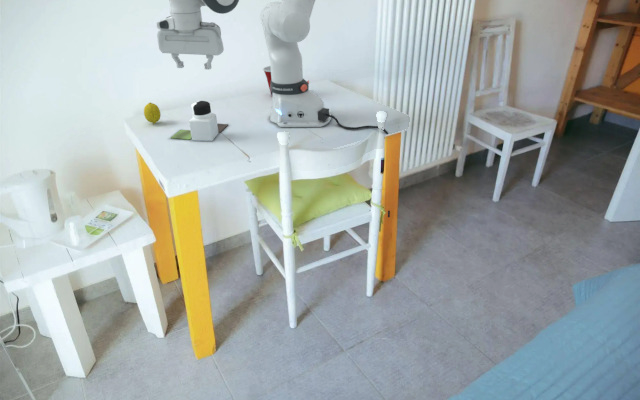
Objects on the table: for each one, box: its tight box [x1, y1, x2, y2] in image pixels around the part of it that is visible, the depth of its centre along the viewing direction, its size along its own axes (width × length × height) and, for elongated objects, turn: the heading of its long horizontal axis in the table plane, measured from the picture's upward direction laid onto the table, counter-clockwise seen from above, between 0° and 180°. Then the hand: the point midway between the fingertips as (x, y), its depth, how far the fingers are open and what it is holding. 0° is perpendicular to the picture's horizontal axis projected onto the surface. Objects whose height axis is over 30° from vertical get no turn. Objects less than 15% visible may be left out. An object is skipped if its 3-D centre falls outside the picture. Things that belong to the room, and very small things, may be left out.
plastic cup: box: [262, 65, 272, 93], centre depth 189 cm, size 11×11×12 cm
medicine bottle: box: [188, 100, 219, 142], centre depth 154 cm, size 7×7×12 cm
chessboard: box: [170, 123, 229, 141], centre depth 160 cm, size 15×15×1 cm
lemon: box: [143, 102, 162, 125], centre depth 166 cm, size 6×6×8 cm
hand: (194, 68), depth 145 cm, fingers open, 8 cm apart
